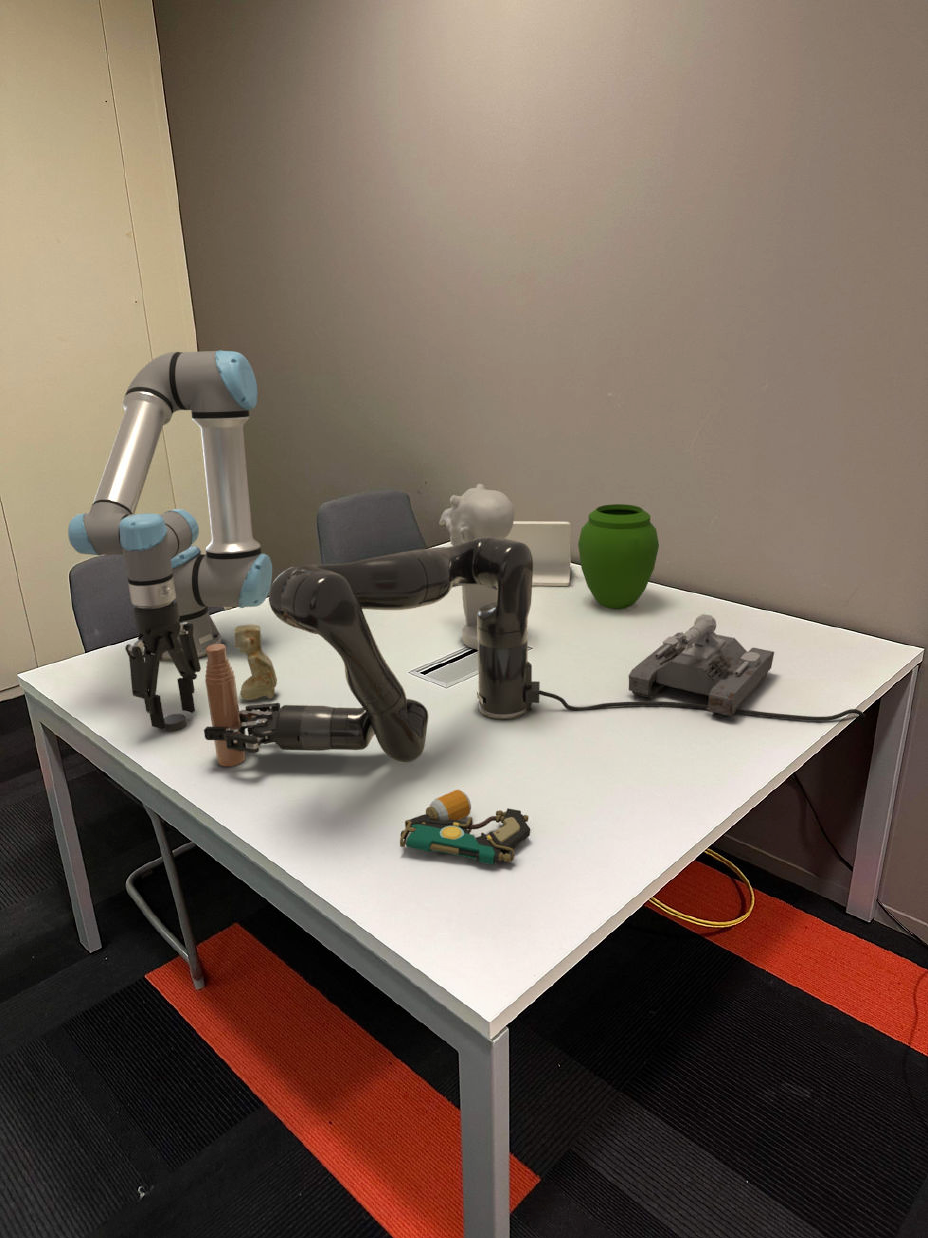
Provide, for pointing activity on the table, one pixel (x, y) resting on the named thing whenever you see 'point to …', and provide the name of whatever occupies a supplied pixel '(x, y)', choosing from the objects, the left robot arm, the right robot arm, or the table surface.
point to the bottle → (222, 701)
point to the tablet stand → (546, 550)
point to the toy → (703, 667)
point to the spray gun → (464, 831)
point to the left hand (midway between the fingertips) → (174, 718)
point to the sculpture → (255, 664)
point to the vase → (618, 554)
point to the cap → (175, 722)
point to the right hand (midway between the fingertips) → (211, 725)
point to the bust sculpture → (470, 521)
